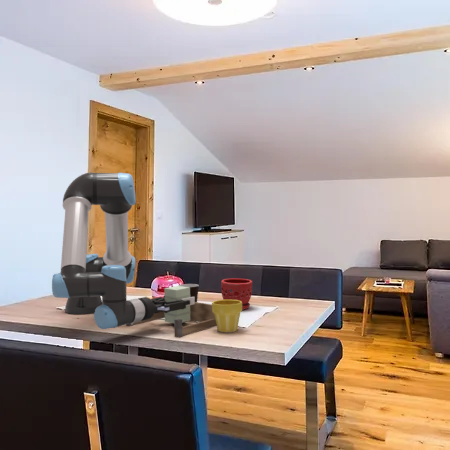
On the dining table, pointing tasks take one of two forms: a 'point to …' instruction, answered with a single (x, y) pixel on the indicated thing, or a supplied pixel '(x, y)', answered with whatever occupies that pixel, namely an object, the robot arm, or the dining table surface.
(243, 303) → the plant pot
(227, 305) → the plant pot
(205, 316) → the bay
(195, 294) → the coffee mug
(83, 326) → the dining table surface
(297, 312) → the dining table surface
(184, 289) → the pale green box
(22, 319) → the dining table surface
